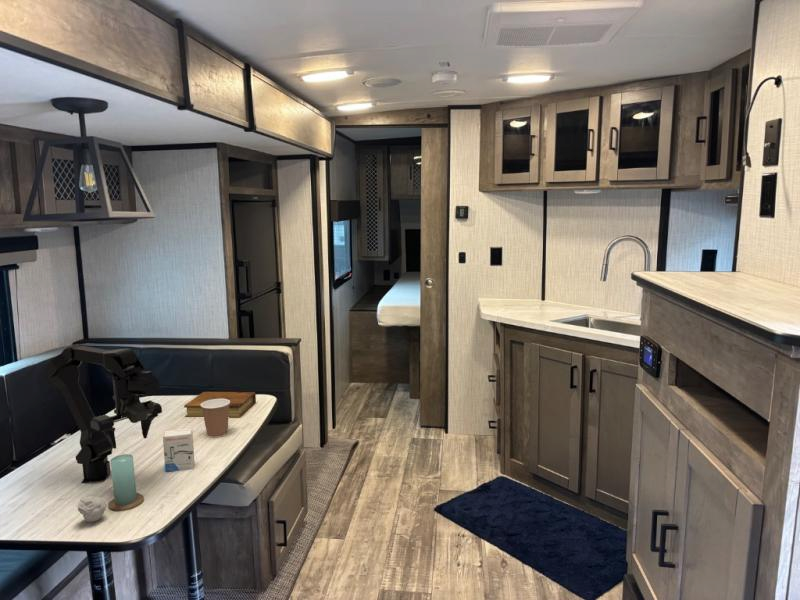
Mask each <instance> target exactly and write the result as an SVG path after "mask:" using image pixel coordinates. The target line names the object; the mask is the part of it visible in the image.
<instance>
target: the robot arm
mask: <svg viewBox="0 0 800 600" xmlns="http://www.w3.org/2000/svg"><path fill="white" fill-rule="evenodd" d="M82 363H89V364H96V365H100V366H102V367H103V368H104V369H105V370H107V371H109V373H108V374H107V375H106V378H108V379H109V378H110V379H112V385H113V395H112V400H113V401H114V403H115V409H113V413H114V414H115V415H112V416H109V415H106V414H103V415H98V416H95V414H94V413H93V410H92V409H91V407H90V404H89V402H88V400H87V397H86V396H85V394H84V392H83V390H82V388H81V385H80V384H79V381H80V369H79V367H80V366H81V365H82ZM146 369H147V368H146V367H145V366H144V364H143V363H142V361H141V360H140V359H139V356H138V355H137V354H136V353H135V351H134V349H132V348H118V349H103V348H98V347H91V346H85V345H82V344H75V345H71V346H67V347H66V348H64V349H63V350H62V351H61V353H59V354H58V355H57V356H55V357H54V358H52V359H51V360H50V361H49V362H48V363H46V365H45V367H44V369H43V370H44V371H43V373H44V375H45V377H46V378H47V380H48V381H49V383H50V384H51V385H52V386H53V387H55V388H56V389H58V390H60V392H61V394H62V395H63V398H64V400H65V402H66V403H67V405H68V408H69V410H70V413H71V414H72V417H73V418H74V420H75V423H76V425H77V427H78V429H79V431H80V438H79V445H80V448H81V449H80V451H78V453H77V454H76V456H75V457H74V458H75V460H76V464H80V465H81V467H82V474H83V479H82V480H81V483H83V484H85V483H97V482H99V483H100V482H105V481H106V480H107V478H108V477H109V476H110V474H112V471H111V461H110V460H109V459H108V456H110V455H112V453H113V449H114V450H115V449H117V442H116V441H117V440H116V436H115V435H116V434H115V431H116V428H115V427H114V425H115V424H116V423H118V422H120V421H124V420H128V421H130V423H132V424H136V423H139V422H140V426H141V434H142V438H143V439H147V438H148V434H149V431H150V427H151V424H152V422H153V420H154V419H155V418H157V417H159V414H162V413H163V408H162V405H161V404H160V403H158V402H155V401H153V400H147V401H142V402H141V400H140V396H139V395H141V396H149V397H150V396H154V395H155V394H156V393H157V392H158V389H159V387H160V380H159V379H158V377H157V376H155V375H154V373H153V371H152V370H151V371H150V370H148V371H146Z"/></svg>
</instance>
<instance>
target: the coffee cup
mask: <svg viewBox="0 0 800 600" xmlns="http://www.w3.org/2000/svg"><path fill="white" fill-rule="evenodd" d="M229 403H230V401H229V400H227V399H212V400H208V401H205V402H203V403H201V407H202V411H203V416H204V418H203V421H204V425H205V430H206V434H207V436H208V438H212V437H217V438H221V436H222V437H224V436H226V435H228V430H229V418H228V417H229Z"/></svg>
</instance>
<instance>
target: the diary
mask: <svg viewBox="0 0 800 600" xmlns="http://www.w3.org/2000/svg"><path fill="white" fill-rule="evenodd" d="M256 397H257V395H256V392H255V391H203V392H201V393H199V394H198V395H196V396H195V397H194V398H193V399H191V400H189V401H188V402H187V403H185V404H184V405H183V408H186V415H185V416H184V418H185V417H204V416H203V411H202V407H201V403H203V402H205V401H208V400H212V399H227V400H229V401H230V403H229V418H228V419H241V418H242V417H243V416H244V415H245V414H246V413H247V412H248V411H249V410H250V409H251V408H252V407H253V406H254V405H256V404H257V398H256Z"/></svg>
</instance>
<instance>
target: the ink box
mask: <svg viewBox="0 0 800 600" xmlns="http://www.w3.org/2000/svg"><path fill="white" fill-rule="evenodd" d="M193 435H194V432H193V429H192V428H183V429H182V428H181V429H171V430H166V431H164V432H163V435H162V436H163V437H162V443H163V444H162V445H163V455H164V456H163V457H164V458H163V459H164V471H165V472H166V473H167V472H175V471H182V469H184V470H188V468H192V469H194V467H193V466H195V450H194V436H193Z"/></svg>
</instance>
